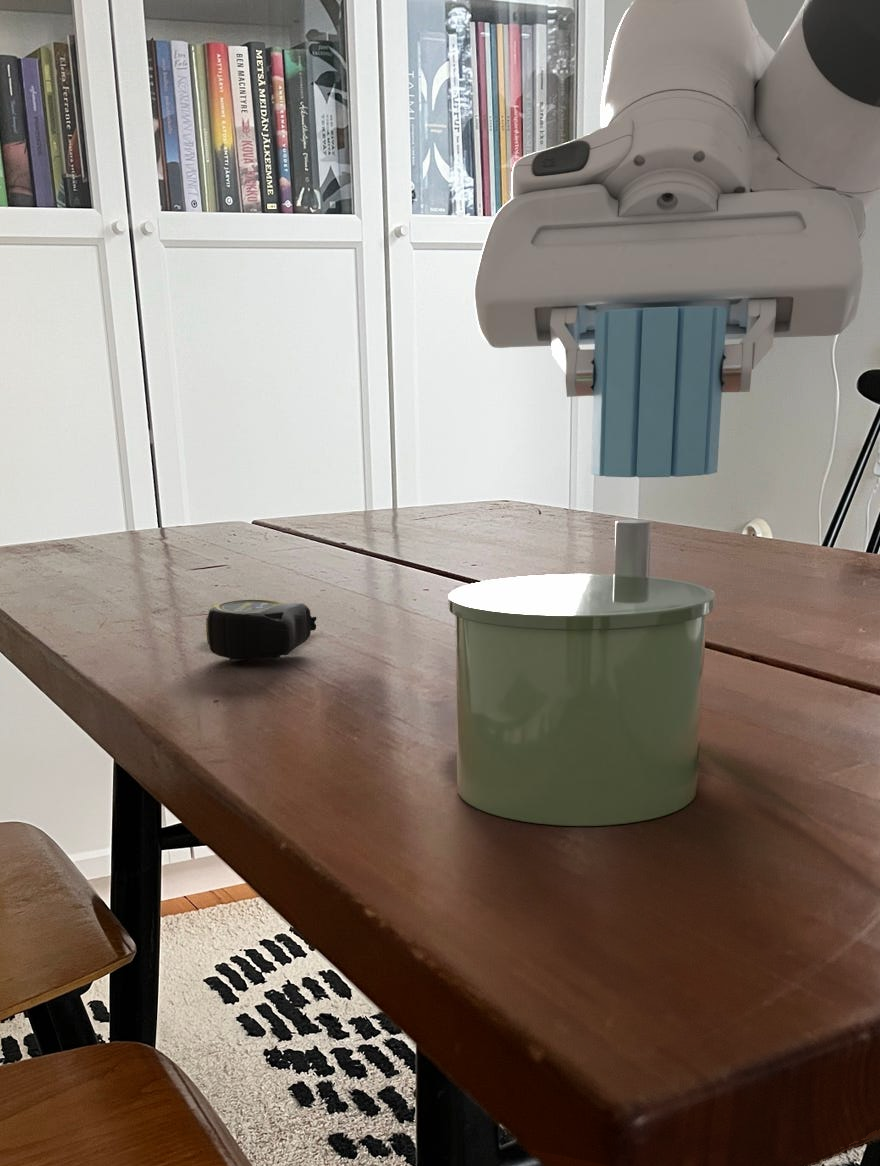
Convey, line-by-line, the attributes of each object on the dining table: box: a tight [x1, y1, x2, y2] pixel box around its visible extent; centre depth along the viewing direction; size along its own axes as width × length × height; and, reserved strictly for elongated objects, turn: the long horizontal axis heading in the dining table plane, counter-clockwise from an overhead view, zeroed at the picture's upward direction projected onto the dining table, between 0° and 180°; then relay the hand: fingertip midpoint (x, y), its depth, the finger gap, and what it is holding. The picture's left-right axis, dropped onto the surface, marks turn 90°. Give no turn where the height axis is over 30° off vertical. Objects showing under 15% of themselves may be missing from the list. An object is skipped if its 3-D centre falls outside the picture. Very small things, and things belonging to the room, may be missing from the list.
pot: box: [447, 519, 716, 827], centre depth 60 cm, size 20×12×11 cm, turn 158°
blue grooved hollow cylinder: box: [590, 306, 727, 478], centre depth 66 cm, size 6×7×8 cm
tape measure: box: [205, 599, 317, 663], centre depth 88 cm, size 7×7×4 cm
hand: (655, 385), depth 65 cm, fingers closed on blue grooved hollow cylinder, 6 cm apart
